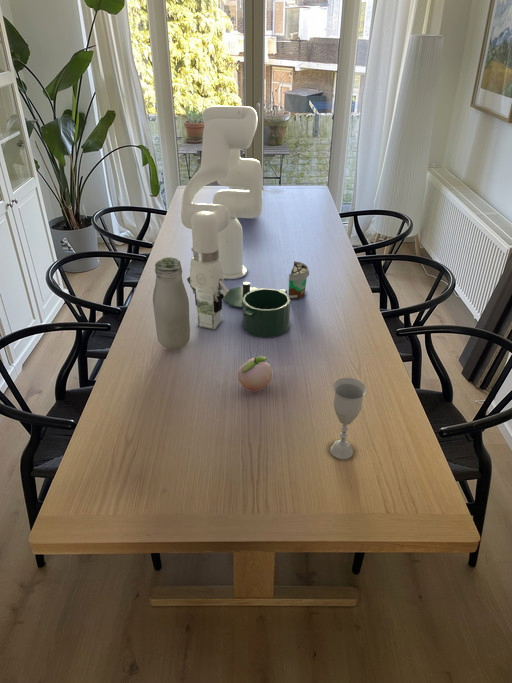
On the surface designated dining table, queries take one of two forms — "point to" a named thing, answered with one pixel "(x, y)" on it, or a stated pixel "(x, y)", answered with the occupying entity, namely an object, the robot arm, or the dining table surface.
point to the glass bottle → (171, 304)
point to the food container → (298, 280)
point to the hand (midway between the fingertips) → (208, 307)
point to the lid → (238, 295)
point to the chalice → (346, 411)
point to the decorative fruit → (255, 374)
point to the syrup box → (206, 309)
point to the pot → (266, 312)
